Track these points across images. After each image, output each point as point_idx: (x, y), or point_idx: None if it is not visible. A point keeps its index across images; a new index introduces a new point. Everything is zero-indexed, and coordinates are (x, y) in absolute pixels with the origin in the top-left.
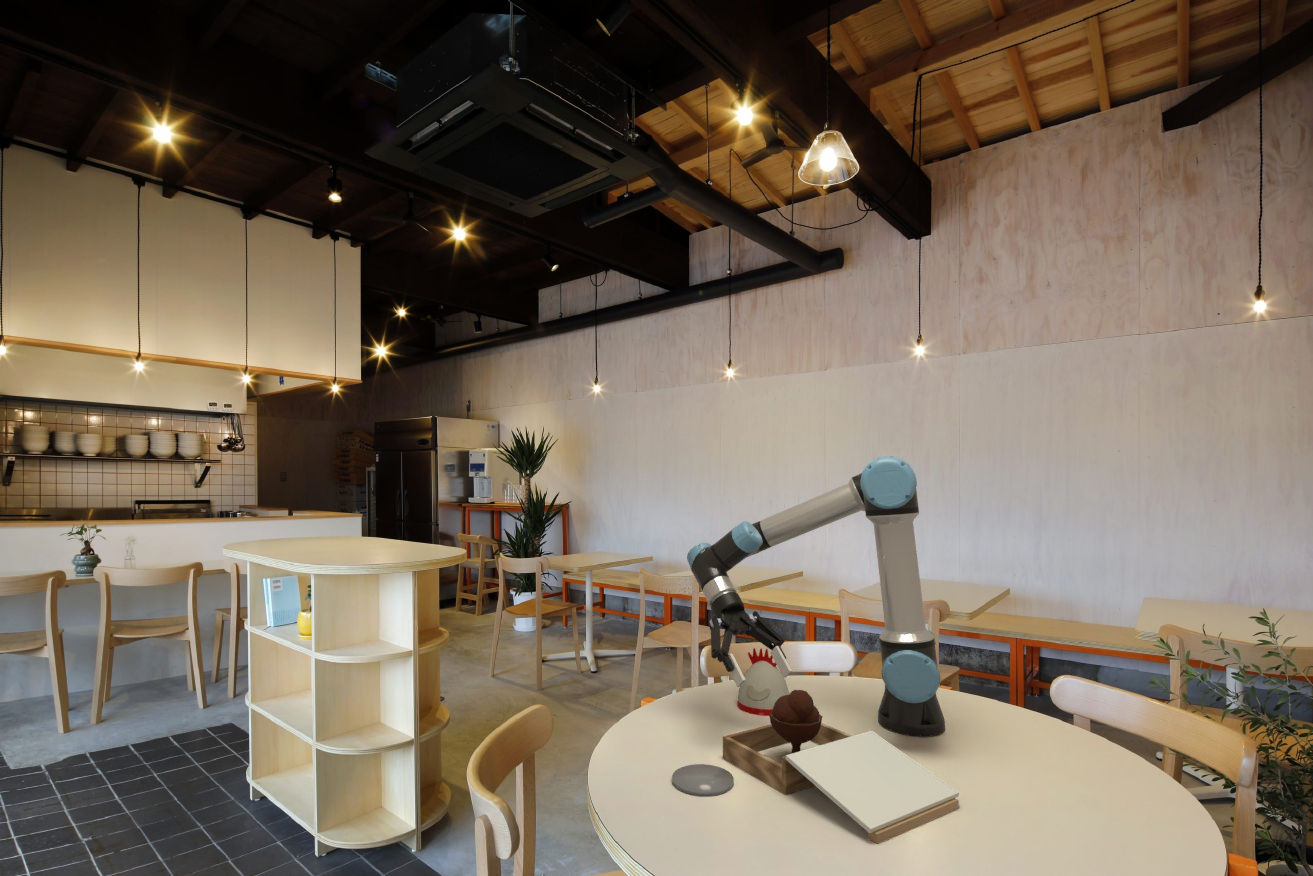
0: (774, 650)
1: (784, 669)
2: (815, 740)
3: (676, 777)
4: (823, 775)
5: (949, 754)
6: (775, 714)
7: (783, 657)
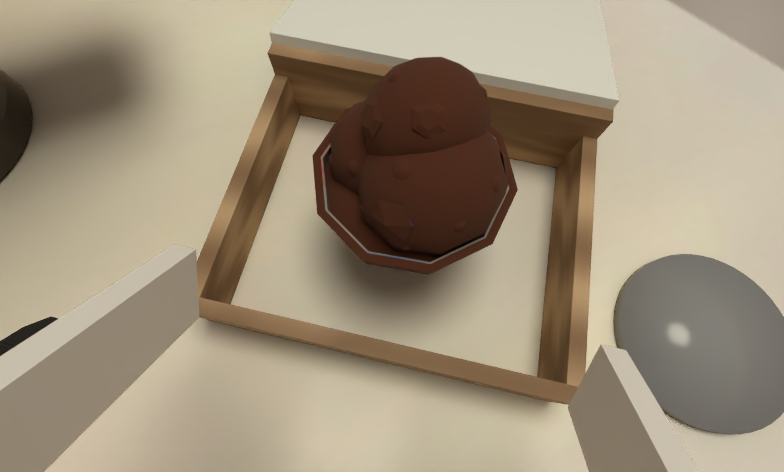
0: (1, 439)
1: (172, 301)
2: (241, 263)
3: (777, 393)
4: (573, 37)
5: (109, 22)
6: (498, 205)
7: (91, 308)
